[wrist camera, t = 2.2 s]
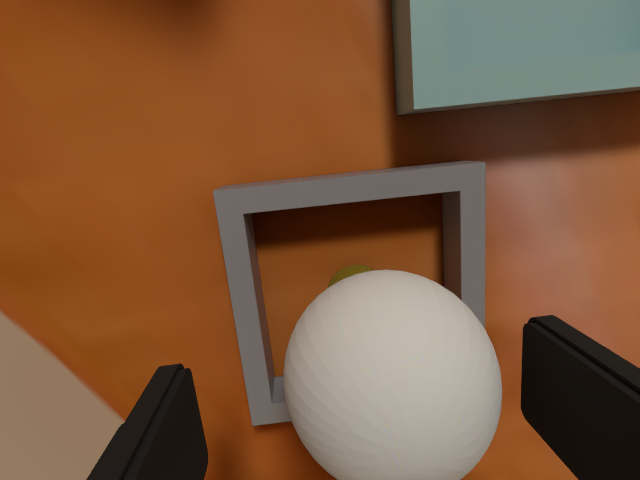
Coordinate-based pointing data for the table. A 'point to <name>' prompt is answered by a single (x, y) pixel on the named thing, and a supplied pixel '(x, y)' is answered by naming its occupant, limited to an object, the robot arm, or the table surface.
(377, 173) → the holder
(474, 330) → the light bulb
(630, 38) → the tray
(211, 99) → the table surface
